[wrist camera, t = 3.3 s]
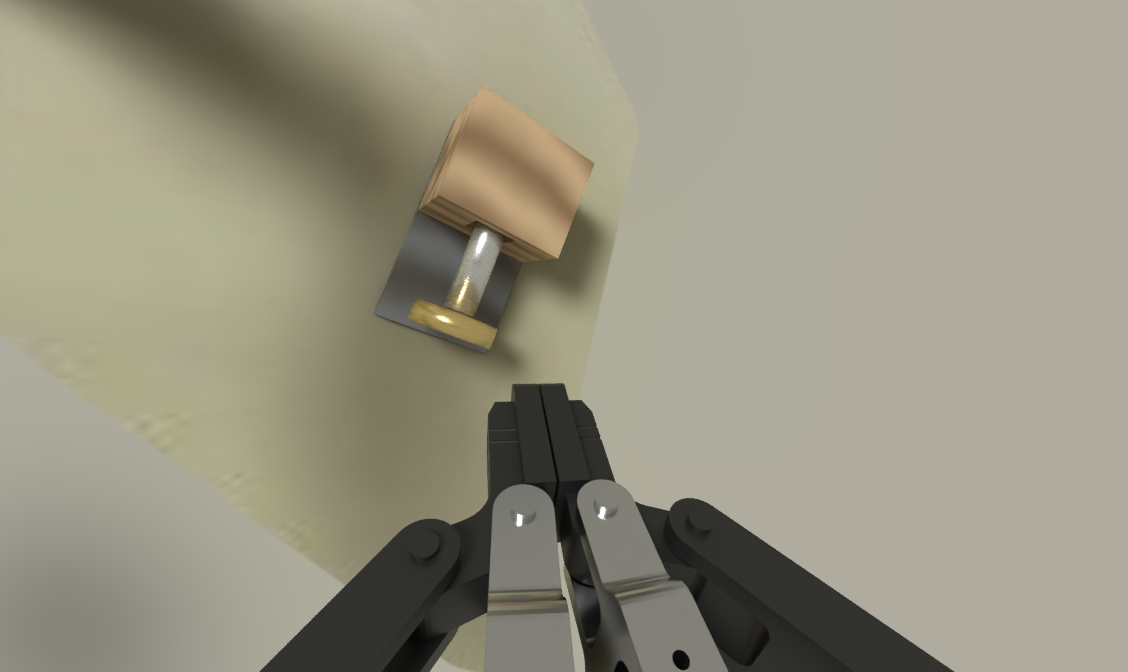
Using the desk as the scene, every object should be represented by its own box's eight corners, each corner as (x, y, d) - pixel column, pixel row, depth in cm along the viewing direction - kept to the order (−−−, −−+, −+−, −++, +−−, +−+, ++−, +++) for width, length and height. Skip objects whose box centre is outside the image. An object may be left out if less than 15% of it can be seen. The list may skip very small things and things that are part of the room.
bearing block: (483, 352, 48) (516, 367, 40) (373, 313, 42) (386, 321, 34) (549, 183, 50) (594, 163, 42) (453, 122, 44) (483, 85, 36)
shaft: (474, 343, 45) (502, 354, 39) (400, 315, 42) (415, 322, 35) (529, 203, 47) (566, 189, 40) (462, 163, 43) (489, 140, 36)
